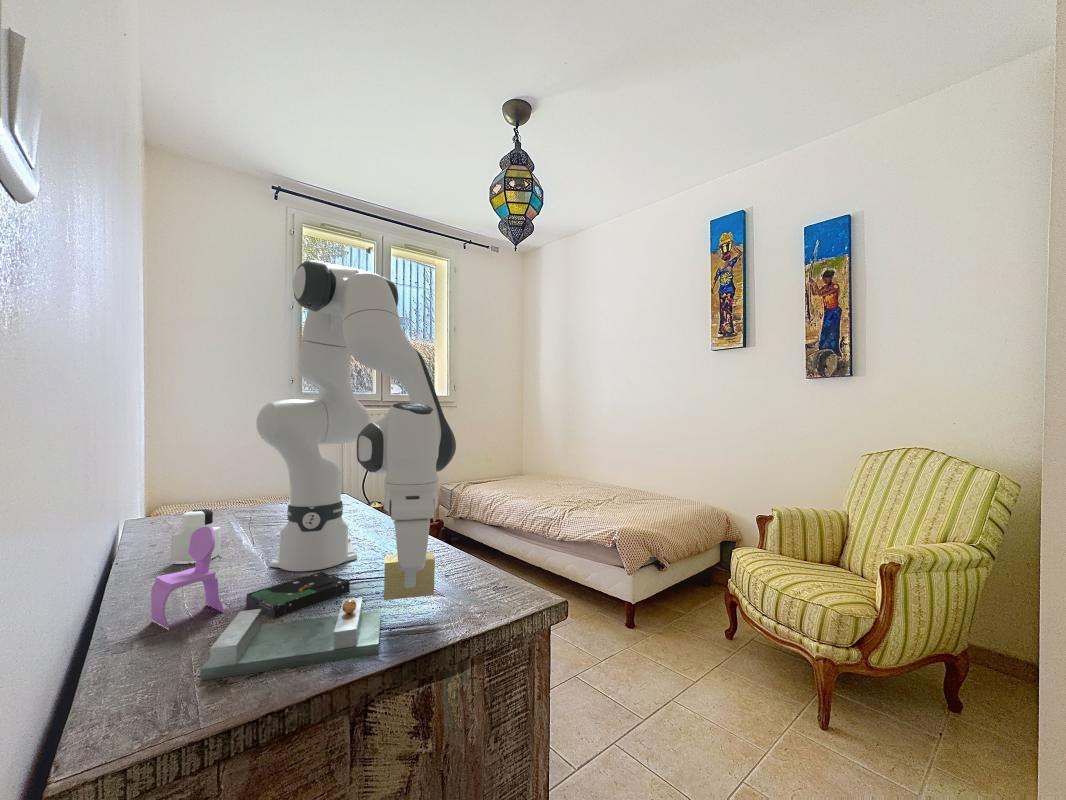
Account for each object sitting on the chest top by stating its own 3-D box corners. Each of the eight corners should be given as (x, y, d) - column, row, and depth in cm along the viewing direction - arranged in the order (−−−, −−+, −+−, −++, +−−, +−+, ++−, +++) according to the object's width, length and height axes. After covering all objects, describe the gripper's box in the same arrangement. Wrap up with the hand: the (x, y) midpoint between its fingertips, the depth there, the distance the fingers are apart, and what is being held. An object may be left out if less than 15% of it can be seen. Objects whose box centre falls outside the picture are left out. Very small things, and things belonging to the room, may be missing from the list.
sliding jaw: (343, 614, 74) (343, 587, 75) (362, 611, 75) (362, 585, 76) (333, 649, 63) (334, 617, 63) (356, 646, 64) (356, 614, 64)
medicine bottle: (190, 556, 112) (191, 508, 113) (220, 555, 113) (221, 507, 113) (170, 565, 105) (172, 513, 105) (202, 564, 106) (204, 513, 106)
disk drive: (320, 584, 94) (244, 608, 82) (321, 571, 94) (245, 592, 82) (350, 595, 88) (273, 622, 76) (351, 580, 89) (274, 605, 76)
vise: (232, 638, 70) (232, 612, 70) (380, 619, 76) (381, 595, 76) (200, 680, 58) (201, 649, 58) (378, 654, 65) (378, 626, 65)
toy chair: (146, 621, 76) (149, 532, 76) (205, 603, 83) (208, 522, 84) (166, 633, 71) (169, 538, 72) (227, 613, 79) (229, 527, 79)
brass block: (384, 590, 76) (385, 555, 76) (432, 586, 79) (432, 551, 79) (383, 600, 72) (384, 563, 73) (434, 595, 75) (434, 559, 75)
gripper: (392, 488, 85) (390, 561, 84) (391, 511, 65) (388, 607, 65) (426, 487, 87) (424, 558, 86) (435, 509, 67) (433, 602, 67)
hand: (409, 580), depth 75 cm, fingers closed on brass block, 4 cm apart
